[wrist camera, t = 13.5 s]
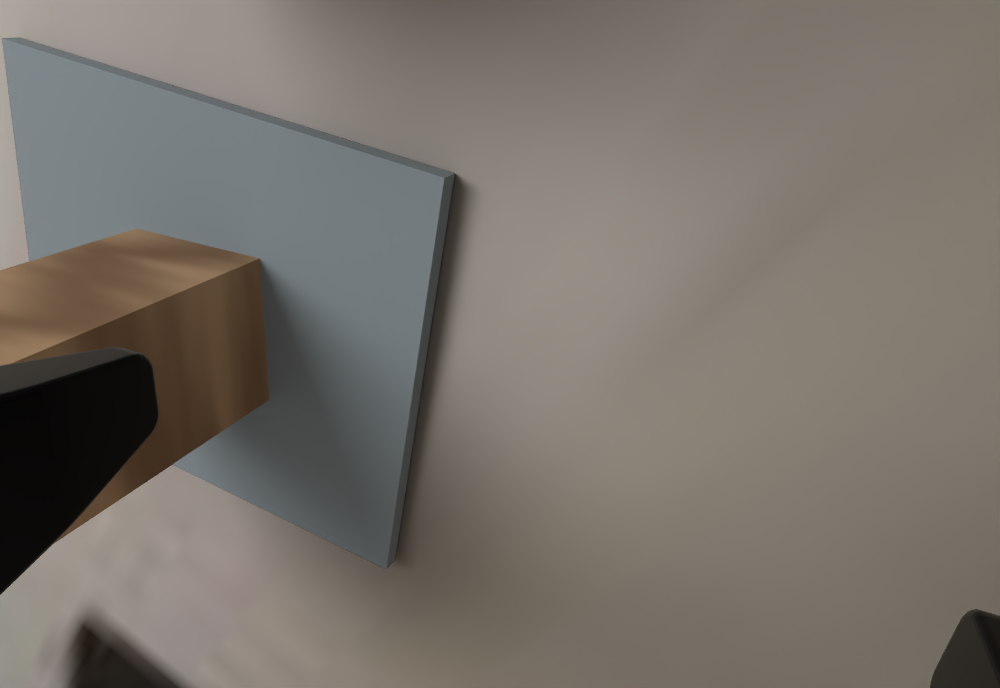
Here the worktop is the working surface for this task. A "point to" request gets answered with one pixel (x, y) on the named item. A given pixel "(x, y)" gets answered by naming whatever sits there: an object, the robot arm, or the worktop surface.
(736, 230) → the worktop surface
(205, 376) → the walnut brick
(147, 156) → the slate mat
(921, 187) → the worktop surface
